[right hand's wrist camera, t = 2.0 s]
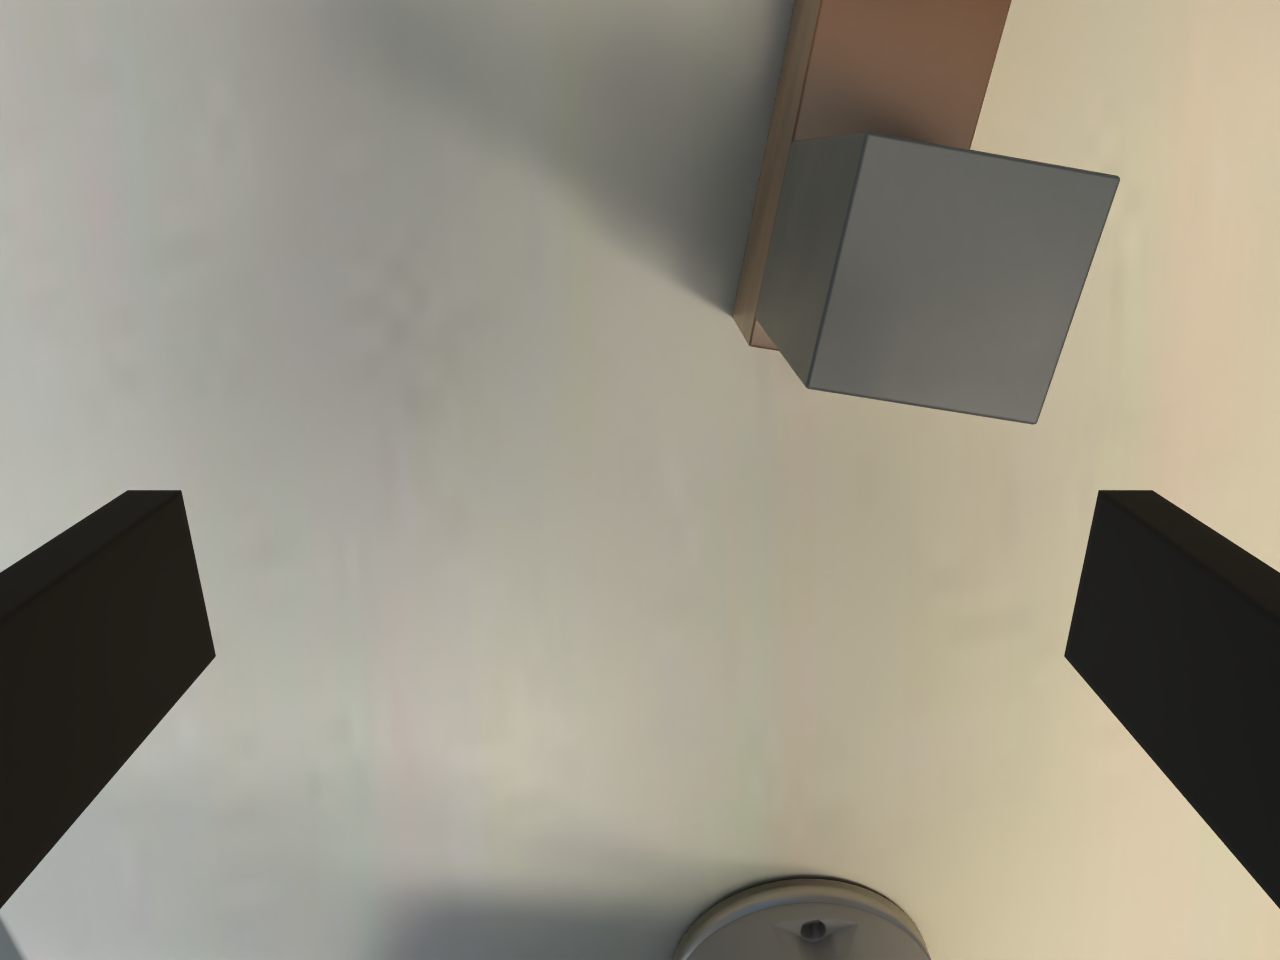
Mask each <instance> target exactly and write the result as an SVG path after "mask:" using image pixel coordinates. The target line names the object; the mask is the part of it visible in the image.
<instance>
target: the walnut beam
mask: <svg viewBox="0 0 1280 960" xmlns="http://www.w3.org/2000/svg"><path fill="white" fill-rule="evenodd" d="M1010 4H1011V0H795V4H794V9H793V14H792V19H791V24H790V29H789V34H788V39H787V44H786V49H785V54H784V59H783V64H782V69H781V74H780V79H779V84H778V89H777V94H776V99H775V105H774V110H773V115H772V120H771V125H770V130H769V135H768V140H767V145H766V150H765V155H764V160H763V165H762V170H761V175H760V180H759V185H758V190H757V195H756V200H755V205H754V210H753V215H752V220H751V225H750V230H749V235H748V240H747V245H746V250H745V255H744V260H743V265H742V270H741V275H740V280H739V285H738V290H737V295H736V300H735V305H734V310H733V315H732V317H733V319H734V321H735V322H736V324H737V326H738V328H739V329H740V331H741V333H742V334H743V336H744V338H745V339H746V341H747V343H748V344H749V346H752V347H758V348H764V349H771V350H777V351H779V350H778V349H777V347H776V346H775V344H774V343H773V342H772V340H771V339H770V338H769V336H768V335H767V334H766V332H765V331H764V330H763V328H762V327H761V325H760V324H759V323H758V321H757V320H756V319H755V315H756V310H757V305H758V300H759V296H760V291H761V286H762V281H763V277H764V272H765V267H766V262H767V257H768V253H769V248H770V243H771V238H772V233H773V229H774V224H775V219H776V214H777V210H778V205H779V200H780V195H781V190H782V186H783V181H784V176H785V171H786V166H787V162H788V157H789V152H790V147H791V143H792V142H795V141H802V140H810V139H818V138H826V137H834V136H841V135H849V134H857V133H865V132H873V133H879V134H884V135H890V136H895V137H901V138H907V139H912V140H918V141H924V142H929V143H935V144H941V145H946V146H952V147H957V148H963V149H969V150H970V147H971V143H972V140H973V136H974V133H975V129H976V126H977V122H978V118H979V115H980V111H981V108H982V104H983V100H984V97H985V93H986V90H987V86H988V83H989V79H990V75H991V72H992V68H993V65H994V61H995V57H996V54H997V50H998V47H999V43H1000V40H1001V36H1002V32H1003V29H1004V25H1005V22H1006V18H1007V14H1008V11H1009V7H1010Z"/></svg>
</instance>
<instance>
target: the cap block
mask: <svg viewBox="0 0 1280 960" xmlns="http://www.w3.org/2000/svg"><path fill="white" fill-rule="evenodd" d="M1119 181H1120V178H1119V177H1118V176H1115V175H1110V174H1104V173H1098V172H1093V171H1087V170H1081V169H1076V168H1070V167H1065V166H1059V165H1053V164H1048V163H1042V162H1036V161H1031V160H1025V159H1019V158H1014V157H1008V156H1003V155H997V154H991V153H986V152H980V151H974V150H969V149H963V148H957V147H952V146H946V145H941V144H935V143H929V142H924V141H918V140H912V139H907V138H901V137H895V136H890V135H884V134H879V133H873V132H865V133H857V134H849V135H841V136H834V137H826V138H818V139H810V140H802V141H795V142H792V143H791V147H790V152H789V157H788V162H787V166H786V171H785V176H784V181H783V186H782V190H781V195H780V200H779V205H778V210H777V214H776V219H775V224H774V229H773V233H772V238H771V243H770V248H769V253H768V257H767V262H766V267H765V272H764V277H763V281H762V286H761V291H760V296H759V300H758V305H757V310H756V315H755V319H756V320H757V321H758V323H759V324H760V325H761V327H762V328H763V330H764V331H765V332H766V334H767V335H768V336H769V338H770V339H771V340H772V342H773V343H774V344H775V346H776V347H777V349H778V350H779V351H780V353H781V354H782V355H783V357H784V358H785V359H786V361H787V362H788V363H789V365H790V366H791V368H792V369H793V370H794V372H795V373H796V374H797V376H798V377H799V378H800V380H801V381H802V382H803V384H804V385H805V387H806V388H808V389H813V390H820V391H826V392H832V393H838V394H845V395H851V396H857V397H864V398H870V399H876V400H882V401H889V402H895V403H901V404H908V405H914V406H920V407H927V408H933V409H939V410H945V411H952V412H958V413H964V414H971V415H977V416H983V417H989V418H996V419H1002V420H1008V421H1015V422H1021V423H1027V424H1036V423H1037V421H1038V418H1039V415H1040V412H1041V409H1042V407H1043V404H1044V401H1045V398H1046V395H1047V392H1048V389H1049V386H1050V383H1051V380H1052V377H1053V374H1054V371H1055V368H1056V366H1057V363H1058V360H1059V357H1060V354H1061V351H1062V348H1063V345H1064V342H1065V339H1066V336H1067V333H1068V330H1069V328H1070V325H1071V322H1072V319H1073V316H1074V313H1075V310H1076V307H1077V304H1078V301H1079V298H1080V295H1081V292H1082V289H1083V287H1084V284H1085V281H1086V278H1087V275H1088V272H1089V269H1090V266H1091V263H1092V260H1093V257H1094V254H1095V251H1096V249H1097V246H1098V243H1099V240H1100V237H1101V234H1102V231H1103V228H1104V225H1105V222H1106V219H1107V216H1108V213H1109V210H1110V208H1111V205H1112V202H1113V199H1114V196H1115V193H1116V190H1117V187H1118V184H1119Z"/></svg>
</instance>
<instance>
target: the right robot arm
mask: <svg viewBox="0 0 1280 960" xmlns="http://www.w3.org/2000/svg"><path fill="white" fill-rule="evenodd" d="M215 656H216V655H215V650H214V645H213V641H212V636H211V631H210V626H209V621H208V617H207V612H206V607H205V602H204V597H203V593H202V588H201V583H200V578H199V573H198V569H197V564H196V559H195V554H194V549H193V545H192V540H191V535H190V530H189V525H188V521H187V516H186V511H185V506H184V501H183V496H182V492H181V490H128V491H126V492H124V493H123V494H121V495H120V496H118V497H117V498H115V499H114V500H112V501H111V502H109V503H107V504H106V505H104V506H103V507H101V508H100V509H98V510H97V511H95V512H94V513H92V514H90V515H89V516H87V517H86V518H84V519H83V520H81V521H80V522H78V523H77V524H75V525H73V526H72V527H70V528H69V529H67V530H66V531H64V532H63V533H61V534H60V535H58V536H56V537H55V538H53V539H52V540H50V541H49V542H47V543H46V544H44V545H43V546H41V547H39V548H38V549H36V550H35V551H33V552H32V553H30V554H29V555H27V556H26V557H24V558H22V559H21V560H19V561H18V562H16V563H15V564H13V565H12V566H10V567H9V568H7V569H5V570H4V571H2V572H1V573H0V908H1V907H2V906H3V905H4V904H5V903H6V901H7V900H8V899H9V898H10V897H11V896H12V894H13V893H14V892H15V891H16V890H17V889H18V887H19V886H20V885H21V884H22V883H23V882H24V880H25V879H26V878H27V877H28V876H29V874H30V873H31V872H32V871H33V870H34V869H35V867H36V866H37V865H38V864H39V863H40V862H41V860H42V859H43V858H44V857H45V856H46V855H47V853H48V852H49V851H50V850H51V849H52V848H53V846H54V845H55V844H56V843H57V842H58V840H59V839H60V838H61V837H62V836H63V835H64V833H65V832H66V831H67V830H68V829H69V828H70V826H71V825H72V824H73V823H74V822H75V821H76V819H77V818H78V817H79V816H80V815H81V814H82V812H83V811H84V810H85V809H86V808H87V807H88V805H89V804H90V803H91V802H92V801H93V799H94V798H95V797H96V796H97V795H98V794H99V792H100V791H101V790H102V789H103V788H104V787H105V785H106V784H107V783H108V782H109V781H110V780H111V778H112V777H113V776H114V775H115V774H116V773H117V771H118V770H119V769H120V768H121V767H122V765H123V764H124V763H125V762H126V761H127V760H128V758H129V757H130V756H131V755H132V754H133V753H134V751H135V750H136V749H137V748H138V747H139V746H140V744H141V743H142V742H143V741H144V740H145V739H146V737H147V736H148V735H149V734H150V733H151V731H152V730H153V729H154V728H155V727H156V726H157V724H158V723H159V722H160V721H161V720H162V719H163V717H164V716H165V715H166V714H167V713H168V712H169V710H170V709H171V708H172V707H173V706H174V705H175V703H176V702H177V701H178V700H179V699H180V697H181V696H182V695H183V694H184V693H185V692H186V690H187V689H188V688H189V687H190V686H191V685H192V683H193V682H194V681H195V680H196V679H197V678H198V676H199V675H200V674H201V673H202V672H203V671H204V669H205V668H206V667H207V666H208V665H209V663H210V662H211V661H212V660H213V659H214V658H215ZM1064 656H1065V658H1066V659H1067V660H1068V661H1069V662H1070V663H1071V665H1072V666H1073V667H1074V668H1075V669H1076V671H1077V672H1078V673H1079V674H1080V675H1081V676H1082V678H1083V679H1084V680H1085V681H1086V682H1087V683H1088V685H1089V686H1090V687H1091V688H1092V689H1093V690H1094V692H1095V693H1096V694H1097V695H1098V696H1099V697H1100V699H1101V700H1102V701H1103V702H1104V703H1105V705H1106V706H1107V707H1108V708H1109V709H1110V710H1111V712H1112V713H1113V714H1114V715H1115V716H1116V717H1117V719H1118V720H1119V721H1120V722H1121V723H1122V724H1123V726H1124V727H1125V728H1126V729H1127V730H1128V731H1129V733H1130V734H1131V735H1132V736H1133V737H1134V739H1135V740H1136V741H1137V742H1138V743H1139V744H1140V746H1141V747H1142V748H1143V749H1144V750H1145V751H1146V753H1147V754H1148V755H1149V756H1150V757H1151V758H1152V760H1153V761H1154V762H1155V763H1156V764H1157V765H1158V767H1159V768H1160V769H1161V770H1162V771H1163V773H1164V774H1165V775H1166V776H1167V777H1168V778H1169V780H1170V781H1171V782H1172V783H1173V784H1174V785H1175V787H1176V788H1177V789H1178V790H1179V791H1180V792H1181V794H1182V795H1183V796H1184V797H1185V798H1186V799H1187V801H1188V802H1189V803H1190V804H1191V805H1192V807H1193V808H1194V809H1195V810H1196V811H1197V812H1198V814H1199V815H1200V816H1201V817H1202V818H1203V819H1204V821H1205V822H1206V823H1207V824H1208V825H1209V826H1210V828H1211V829H1212V830H1213V831H1214V832H1215V833H1216V835H1217V836H1218V837H1219V838H1220V839H1221V840H1222V842H1223V843H1224V844H1225V845H1226V846H1227V848H1228V849H1229V850H1230V851H1231V852H1232V853H1233V855H1234V856H1235V857H1236V858H1237V859H1238V860H1239V862H1240V863H1241V864H1242V865H1243V866H1244V867H1245V869H1246V870H1247V871H1248V872H1249V873H1250V874H1251V876H1252V877H1253V878H1254V879H1255V880H1256V882H1257V883H1258V884H1259V885H1260V886H1261V887H1262V889H1263V890H1264V891H1265V892H1266V893H1267V894H1268V896H1269V897H1270V898H1271V899H1272V900H1273V901H1274V903H1275V904H1276V905H1277V906H1278V907H1279V908H1280V573H1279V572H1278V571H1276V570H1275V569H1273V568H1271V567H1270V566H1268V565H1267V564H1265V563H1264V562H1262V561H1261V560H1259V559H1258V558H1256V557H1254V556H1253V555H1251V554H1250V553H1248V552H1247V551H1245V550H1244V549H1242V548H1241V547H1239V546H1237V545H1236V544H1234V543H1233V542H1231V541H1230V540H1228V539H1227V538H1225V537H1224V536H1222V535H1220V534H1219V533H1217V532H1216V531H1214V530H1213V529H1211V528H1210V527H1208V526H1207V525H1205V524H1203V523H1202V522H1200V521H1199V520H1197V519H1196V518H1194V517H1193V516H1191V515H1190V514H1188V513H1186V512H1185V511H1183V510H1182V509H1180V508H1179V507H1177V506H1176V505H1174V504H1173V503H1171V502H1169V501H1168V500H1166V499H1165V498H1163V497H1162V496H1160V495H1159V494H1157V493H1156V492H1154V491H1152V490H1099V492H1098V496H1097V501H1096V506H1095V511H1094V516H1093V521H1092V525H1091V530H1090V535H1089V540H1088V545H1087V549H1086V554H1085V559H1084V564H1083V569H1082V573H1081V578H1080V583H1079V588H1078V593H1077V597H1076V602H1075V607H1074V612H1073V617H1072V621H1071V626H1070V631H1069V636H1068V641H1067V645H1066V650H1065V655H1064ZM672 960H931V959H930V956H929V953H928V950H927V948H926V945H925V942H924V940H923V938H922V936H921V934H920V932H919V930H918V929H917V927H916V926H915V924H914V923H913V921H912V920H911V919H910V918H909V917H908V916H907V915H906V914H905V913H904V912H903V911H902V910H901V909H900V908H899V907H897V906H896V905H895V904H893V903H892V902H890V901H889V900H887V899H885V898H884V897H882V896H880V895H878V894H876V893H874V892H872V891H870V890H867V889H865V888H862V887H859V886H856V885H852V884H848V883H844V882H839V881H834V880H825V879H790V880H782V881H776V882H771V883H766V884H763V885H759V886H756V887H752V888H750V889H747V890H744V891H741V892H739V893H737V894H735V895H733V896H730V897H729V898H727V899H725V900H723V901H721V902H720V903H718V904H717V905H715V906H714V907H712V908H711V909H709V910H708V911H707V912H706V913H704V914H703V915H702V916H701V917H700V918H699V919H698V920H697V921H696V922H695V923H694V924H693V925H692V926H691V927H690V928H689V929H688V931H687V932H686V933H685V935H684V936H683V938H682V939H681V941H680V942H679V945H678V947H677V949H676V951H675V953H674V956H673V959H672Z"/></svg>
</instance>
